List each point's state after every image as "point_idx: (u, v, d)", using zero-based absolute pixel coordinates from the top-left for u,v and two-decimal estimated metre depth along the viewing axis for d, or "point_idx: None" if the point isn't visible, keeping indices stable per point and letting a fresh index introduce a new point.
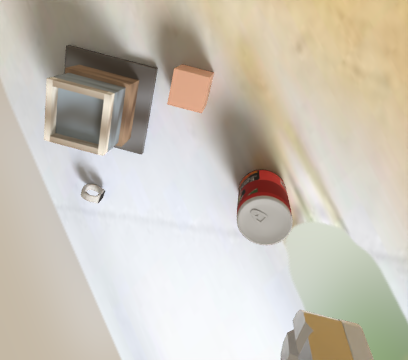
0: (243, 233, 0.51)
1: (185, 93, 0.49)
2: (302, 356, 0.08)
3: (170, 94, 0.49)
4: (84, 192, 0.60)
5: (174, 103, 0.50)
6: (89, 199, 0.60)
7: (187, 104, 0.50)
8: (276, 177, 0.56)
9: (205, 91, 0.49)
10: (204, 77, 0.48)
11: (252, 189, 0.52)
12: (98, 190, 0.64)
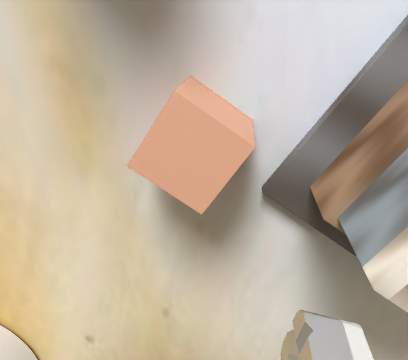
0: None
1: (198, 154, 0.19)
2: (301, 356, 0.08)
3: (235, 166, 0.19)
4: None
5: (235, 142, 0.18)
6: None
7: (203, 128, 0.18)
8: None
9: (146, 140, 0.19)
10: (139, 171, 0.20)
11: None
12: None
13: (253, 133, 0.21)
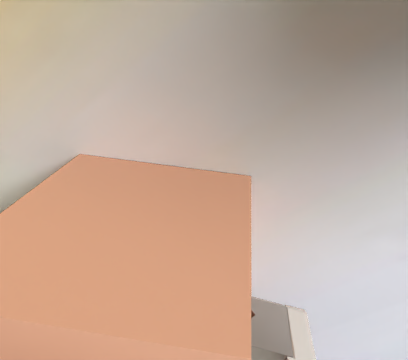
0: None
1: None
2: None
3: None
4: None
5: None
6: None
7: None
8: None
9: (22, 329, 0.05)
10: None
11: None
12: None
13: None
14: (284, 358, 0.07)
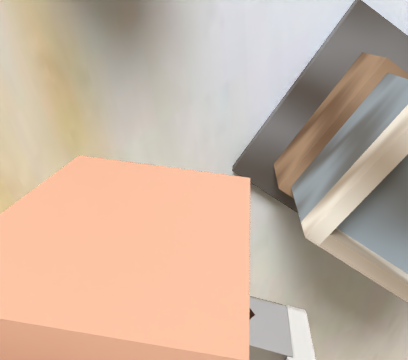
0: None
1: None
2: None
3: None
4: None
5: None
6: None
7: None
8: None
9: (20, 330, 0.05)
10: None
11: None
12: None
13: None
14: (284, 358, 0.07)
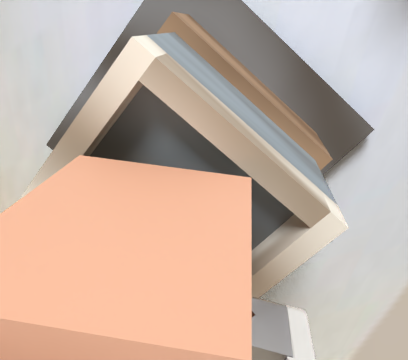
0: None
1: None
2: None
3: None
4: None
5: None
6: None
7: None
8: None
9: (21, 330, 0.05)
10: None
11: None
12: None
13: None
14: (284, 358, 0.07)
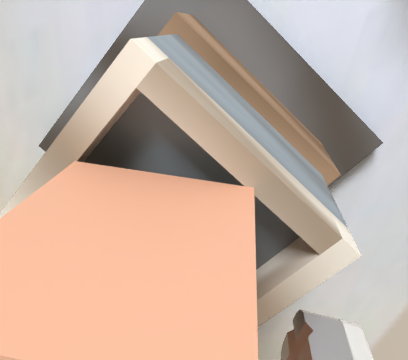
0: None
1: None
2: (302, 356, 0.08)
3: None
4: None
5: None
6: None
7: None
8: None
9: None
10: None
11: None
12: None
13: None
14: None
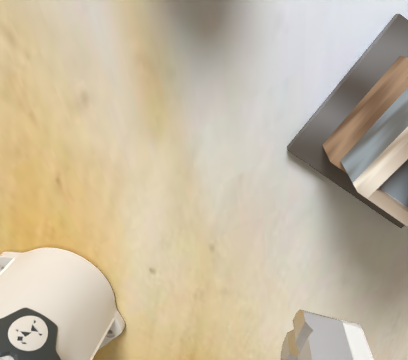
0: None
1: None
2: (301, 356, 0.08)
3: None
4: None
5: None
6: None
7: None
8: None
9: None
10: None
11: None
12: None
13: None
14: None
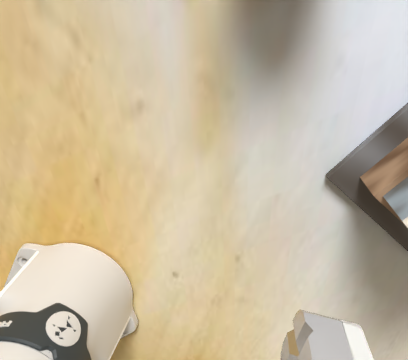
0: None
1: None
2: (302, 356, 0.08)
3: None
4: None
5: None
6: None
7: None
8: None
9: None
10: None
11: None
12: None
13: None
14: None
